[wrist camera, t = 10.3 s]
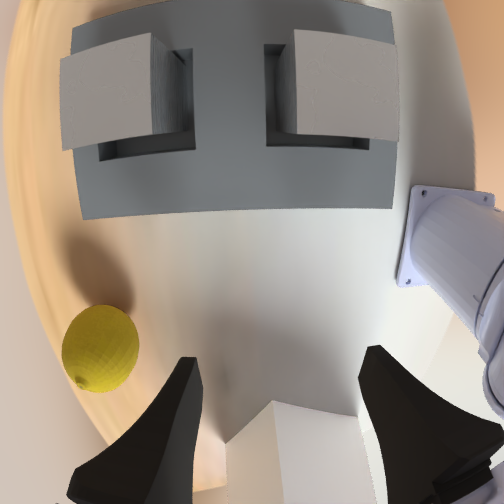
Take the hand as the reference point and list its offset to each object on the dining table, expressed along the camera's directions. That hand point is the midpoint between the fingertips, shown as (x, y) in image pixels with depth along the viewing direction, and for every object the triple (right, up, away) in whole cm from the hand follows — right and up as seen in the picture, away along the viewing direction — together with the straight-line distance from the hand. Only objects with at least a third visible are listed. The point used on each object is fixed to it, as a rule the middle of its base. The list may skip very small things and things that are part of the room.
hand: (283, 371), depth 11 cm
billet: (+2, +14, +4) cm, 14 cm away
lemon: (-12, 0, +10) cm, 16 cm away
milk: (+3, -17, +18) cm, 25 cm away
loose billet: (-7, +14, +3) cm, 16 cm away
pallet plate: (-3, +14, +4) cm, 15 cm away
